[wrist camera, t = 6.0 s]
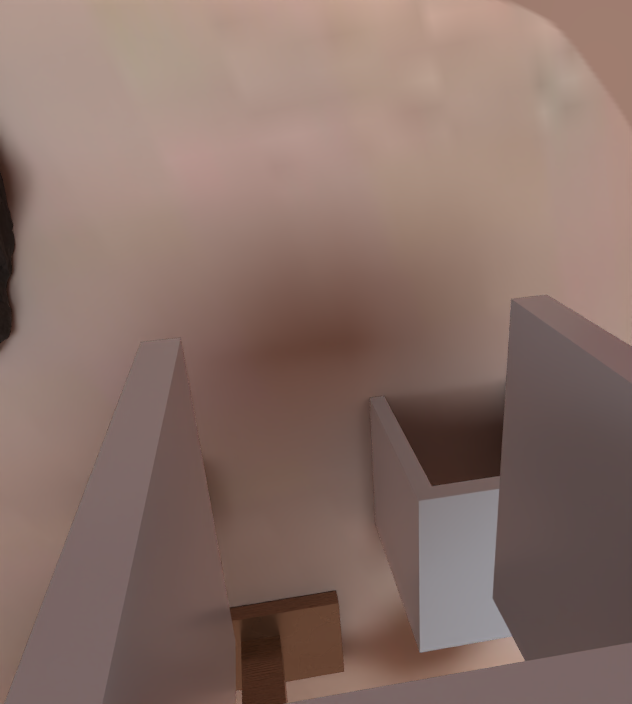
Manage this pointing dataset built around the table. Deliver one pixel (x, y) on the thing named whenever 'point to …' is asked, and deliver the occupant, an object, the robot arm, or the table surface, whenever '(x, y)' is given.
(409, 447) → the cover
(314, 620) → the balance
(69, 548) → the cover
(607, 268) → the table surface
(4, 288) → the rock
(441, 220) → the table surface
